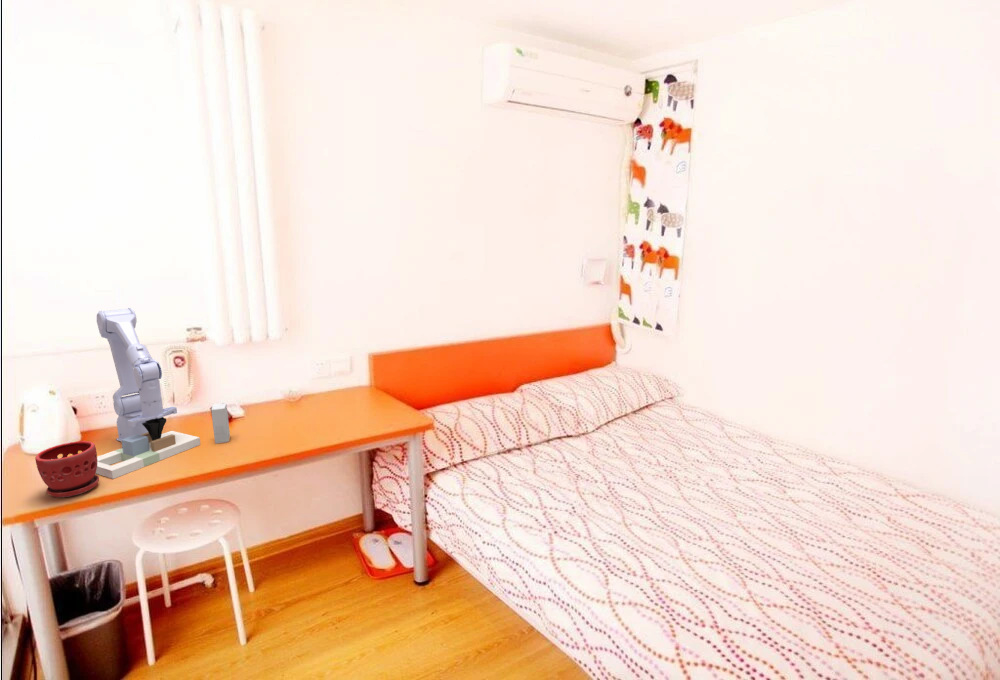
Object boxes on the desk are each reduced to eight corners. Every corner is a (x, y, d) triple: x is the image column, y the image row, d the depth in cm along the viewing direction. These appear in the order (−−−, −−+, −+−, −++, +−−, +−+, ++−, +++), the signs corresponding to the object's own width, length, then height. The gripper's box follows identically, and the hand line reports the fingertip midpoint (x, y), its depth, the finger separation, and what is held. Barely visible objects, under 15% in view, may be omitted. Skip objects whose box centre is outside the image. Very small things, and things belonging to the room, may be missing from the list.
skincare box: (216, 437, 193) (212, 404, 191) (230, 435, 195) (226, 402, 192) (214, 444, 188) (210, 409, 185) (228, 442, 189) (225, 408, 187)
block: (123, 453, 174) (121, 439, 173) (139, 447, 178) (137, 434, 177) (133, 456, 172) (131, 442, 171) (149, 450, 176) (147, 436, 175)
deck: (83, 469, 168) (81, 452, 167) (172, 437, 193) (170, 422, 192) (113, 478, 163) (110, 460, 161) (200, 444, 187) (198, 428, 186)
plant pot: (90, 475, 165) (83, 436, 162) (109, 487, 157) (103, 447, 155) (34, 492, 154) (27, 451, 152) (53, 506, 147) (45, 463, 144)
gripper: (136, 409, 170) (141, 451, 173) (181, 395, 183) (185, 435, 186) (121, 405, 173) (127, 447, 176) (166, 392, 186) (171, 431, 189)
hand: (156, 441), depth 181 cm, fingers closed
